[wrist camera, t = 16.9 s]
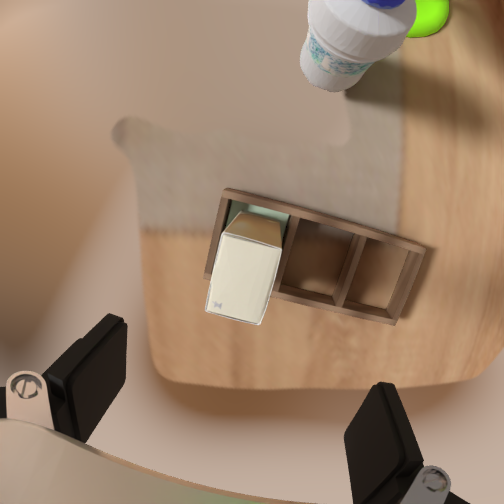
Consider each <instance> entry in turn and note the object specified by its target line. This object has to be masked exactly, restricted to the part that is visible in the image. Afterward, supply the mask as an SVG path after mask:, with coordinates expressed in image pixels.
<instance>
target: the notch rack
mask: <svg viewBox="0 0 504 504" xmlns="http://www.w3.org/2000/svg"><path fill="white" fill-rule="evenodd" d="M231 199H232V200H236V201H240V202H244V203H247V204H251V205H255V206H259V207H263V208H267V209H270V210H274V211H278V212H282V213H285V214H289V215H291V216H290V220H289V223H288V227H287V230H286V234H285V237H284V241H283V244H282V253H281V257H280V261H279V265H278V269H277V273H276V277H275V281H274V284H273V288H272V292H271V295H270V297H274V298H278V299H282V300H286V301H290V302H294V303H298V304H302V305H306V306H310V307H314V308H319V309H323V310H327V311H331V312H335V313H340V314H344V315H348V316H353V317H357V318H361V319H366V320H370V321H375V322H379V323H384V324H389V325H393V326H395V325H396V323H397V321H398V318H399V316H400V314H401V312H402V309H403V307H404V305H405V303H406V300H407V298H408V295H409V293H410V291H411V288H412V286H413V283H414V281H415V278H416V276H417V273H418V270H419V268H420V265H421V262H422V260H423V257H424V254H425V252H426V248H424V247H423V246H421V245H420V244H418V243H416V242H413V241H410V240H407V239H404V238H401V237H398V236H395V235H392V234H389V233H386V232H383V231H379V230H376V229H373V228H370V227H367V226H363V225H360V224H357V223H354V222H350V221H347V220H344V219H340V218H337V217H333V216H330V215H327V214H323V213H320V212H316V211H313V210H309V209H306V208H302V207H298V206H295V205H291V204H288V203H284V202H280V201H276V200H273V199H269V198H265V197H261V196H258V195H254V194H250V193H246V192H242V191H238V190H234V189H230V188H226V189H224V190H223V192H222V196H221V201H220V205H219V209H218V213H217V218H216V222H215V226H214V231H213V235H212V240H211V244H210V249H209V253H208V258H207V263H206V267H205V272H204V277H203V279H206V280H209V281H211V277H212V272H213V268H214V264H215V259H216V255H217V251H218V246H219V242H220V238H221V234H222V233H223V231H224V227H225V222H226V218H227V214H228V210H229V206H230V201H231ZM300 218H303V219H307V220H311V221H314V222H318V223H321V224H325V225H328V226H332V227H335V228H339V229H342V230H345V231H349V232H352V233H354V235H353V238H352V241H351V244H350V247H349V250H348V253H347V256H346V259H345V262H344V265H343V268H342V271H341V273H340V276H339V279H338V282H337V285H336V287H335V290H334V293H333V296H332V297H331V296H327V295H323V294H319V293H315V292H311V291H307V290H303V289H299V288H295V287H291V286H287V285H283V284H280V283H281V280H282V277H283V274H284V270H285V267H286V264H287V260H288V257H289V254H290V250H291V247H292V243H293V240H294V237H295V233H296V230H297V226H298V223H299V219H300ZM367 237H369V238H372V239H375V240H379V241H382V242H385V243H388V244H392V245H395V246H398V247H401V248H404V249H407V250H409V253H408V255H407V258H406V261H405V264H404V266H403V269H402V272H401V274H400V277H399V279H398V282H397V284H396V287H395V289H394V292H393V294H392V297H391V299H390V302H389V304H388V306H387V309H386V310H385V309H380V308H376V307H372V306H368V305H364V304H360V303H355V302H351V301H347V300H345V298H346V295H347V293H348V290H349V287H350V285H351V282H352V279H353V277H354V274H355V271H356V268H357V265H358V263H359V260H360V257H361V254H362V251H363V248H364V245H365V242H366V239H367Z"/></svg>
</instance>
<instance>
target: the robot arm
mask: <svg viewBox="0 0 504 504" xmlns="http://www.w3.org/2000/svg"><path fill="white" fill-rule="evenodd" d="M126 349H127V324H126V323H124V319H123V318H121V317H118V316H116V315H113V314H110V313H109V314H107V315H106V316H105V317H104V318H103V319H102V320H101V321H100V322H99V323H98V324H97V325H96V326H95V327H94V328H93V329H92V330H90V331H89V332H88V333H87V334H86V335H85V336H84V337H83V338H80V339H78V340H77V341H76V342H75V343H73V344H72V345H71V346H70V347H69V348H68V349H67V350H66V351H65V352H64V353H63V354H62V355H61V356H60V357H59V358H58V359H57V360H56V361H55V362H54V363H53V364H52V365H51V366H50V367H49V368H48V369H47V370H46V371H45V372H44V373H43V374H42V375H41V376H40V375H39V374H37V373H35V372H32V371H20V372H17V373H15V374H13V375H12V376H10V377H9V379H8V381H7V384H6V387H0V504H316V503H303V502H293V501H284V500H277V499H269V498H263V497H257V496H251V495H245V494H240V493H235V492H230V491H225V490H220V489H216V488H212V487H208V486H204V485H200V484H196V483H192V482H189V481H185V480H182V479H178V478H175V477H172V476H168V475H165V474H162V473H159V472H156V471H153V470H150V469H147V468H144V467H142V466H139V465H136V464H133V463H131V462H128V461H126V460H123V459H120V458H118V457H115V456H113V455H110V454H108V453H105V452H103V451H101V450H98V449H96V448H94V447H92V446H89V445H87V444H85V443H86V442H87V440H88V439H89V437H90V435H91V434H92V432H93V431H94V429H95V428H96V426H97V425H98V423H99V421H100V420H101V418H102V417H103V415H104V414H105V412H106V410H107V409H108V408H109V406H110V405H111V403H112V402H113V400H114V399H115V397H116V396H117V394H118V392H119V391H120V389H121V388H122V387H123V385H124V383H125V379H126ZM344 443H345V449H346V455H347V462H348V469H349V475H350V482H351V490H352V497H353V504H470V503H468V502H466V501H465V500H463V499H461V498H460V497H458V496H456V495H455V494H453V493H452V492H450V491H449V490H450V486H451V481H450V478H449V476H448V474H447V473H446V472H445V471H444V470H442V469H441V468H439V467H436V466H425V467H424V465H423V461H424V460H423V457H422V454H421V452H420V449H419V446H418V443H417V441H416V438H415V435H414V433H413V430H412V427H411V425H410V422H409V420H408V417H407V415H406V412H405V410H404V407H403V405H402V402H401V400H400V397H399V395H398V393H397V390H396V388H395V385H394V384H392V383H386V382H379V383H377V385H373V386H372V388H371V389H370V391H369V393H368V395H367V397H366V398H365V400H364V402H363V403H362V405H361V407H360V408H359V410H358V412H357V413H356V415H355V417H354V418H353V420H352V421H351V423H350V425H349V426H348V428H347V429H346V431H345V434H344Z"/></svg>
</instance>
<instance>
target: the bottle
mask: <svg viewBox="0 0 504 504" xmlns="http://www.w3.org/2000/svg"><path fill="white" fill-rule="evenodd" d="M416 15H417V8H416V2H415V0H309V4H308V23H309V30H308V34H307V38H306V41H305V43H304V45H303V47H302V50H301V54H300V66H301V69H302V71H303V73H304V74H305V76H306V77H307V79H308V81H309V82H310V83H311V84H312V85H313V86H315V87H319V88H322V89H324V90H327V91H329V92H339V91H342V90H346V89H348V88H350V87H352V86H353V85H354V84H356V83H357V82H358V81H359V80H360V78H361V77H362V76H363V74H364V73H365V71H366V70H367V69H368V68H369V67H370V66H371V65H372V64H373V63H374V62H375V61H379V60H382V59H384V58H386V57H387V56H389V55H390V54H391V53H393V52H395V51H396V50H397V49H398V48H399V47H400V46H401V45H402V43H403V41H404V39H405V37H406V35H407V34H408V32H409V31H410V29H411V28H412V26H413V24H414V22H415V20H416Z"/></svg>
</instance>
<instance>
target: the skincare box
mask: <svg viewBox="0 0 504 504" xmlns="http://www.w3.org/2000/svg"><path fill="white" fill-rule="evenodd" d="M281 253H282V242H281V230H280V220H278V219H274V218H271V217H268V216H264V215H261V214H257V213H253V212H249V211H246V210H241V211H240V212H239V213H238V215H237V216H236V217H235V218H234V219H233V221H232V222H231V223H230V224H229V225H228V227H227V228H226V229H225V230H224V231H223V233H222V234H221V238H220V242H219V246H218V251H217V255H216V259H215V264H214V268H213V272H212V277H211V282H210V287H209V291H208V296H207V301H206V306H205V311H206V312H209V313H213V314H216V315H219V316H223V317H226V318H230V319H234V320H237V321H241V322H246V323H251V324H255V325H260V324H261V322H262V319H263V316H264V313H265V311H266V308H267V305H268V302H269V298H270V295H271V292H272V288H273V284H274V281H275V277H276V273H277V269H278V265H279V261H280V257H281Z"/></svg>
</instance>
